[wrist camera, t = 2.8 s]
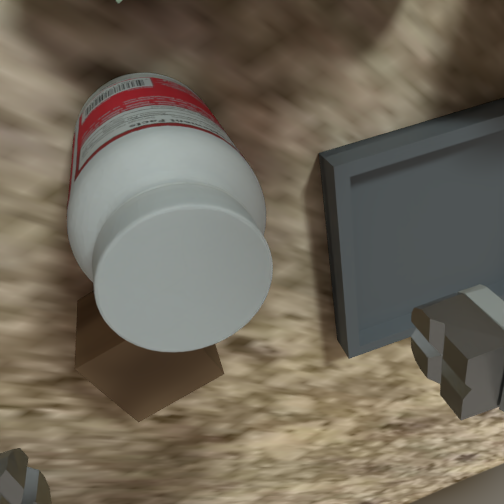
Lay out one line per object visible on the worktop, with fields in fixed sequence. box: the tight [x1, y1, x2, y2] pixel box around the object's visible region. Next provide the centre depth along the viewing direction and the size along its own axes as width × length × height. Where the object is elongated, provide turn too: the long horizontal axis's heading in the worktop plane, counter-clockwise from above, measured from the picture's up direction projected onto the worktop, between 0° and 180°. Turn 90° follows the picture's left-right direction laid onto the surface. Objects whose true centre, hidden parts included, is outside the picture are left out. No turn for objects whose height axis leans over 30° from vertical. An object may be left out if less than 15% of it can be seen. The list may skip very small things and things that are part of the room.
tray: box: [319, 98, 504, 358], centre depth 28 cm, size 14×14×2 cm
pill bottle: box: [67, 73, 273, 352], centre depth 16 cm, size 6×6×11 cm
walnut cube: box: [75, 291, 224, 422], centre depth 24 cm, size 5×5×5 cm
